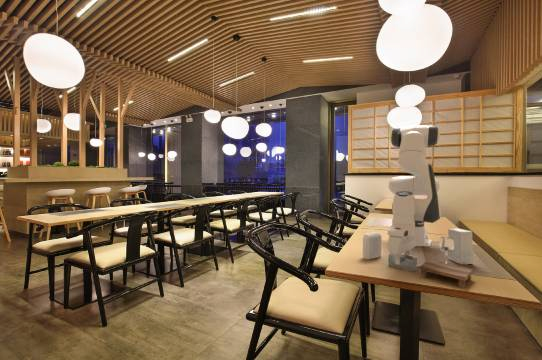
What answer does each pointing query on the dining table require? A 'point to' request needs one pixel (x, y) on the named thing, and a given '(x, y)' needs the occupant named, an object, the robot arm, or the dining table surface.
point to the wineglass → (446, 245)
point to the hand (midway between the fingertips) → (402, 261)
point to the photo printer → (371, 245)
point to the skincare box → (461, 246)
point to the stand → (446, 271)
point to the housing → (404, 262)
